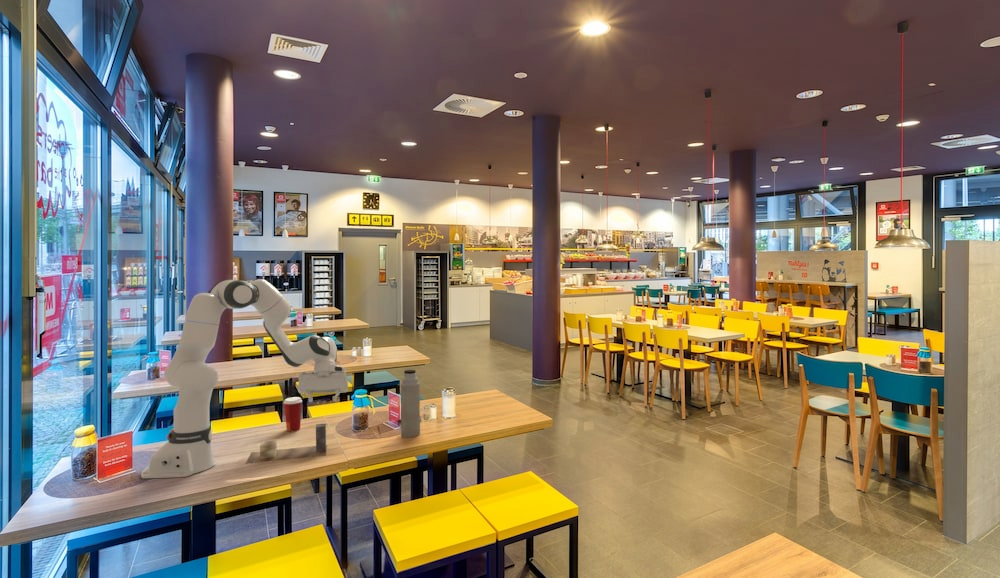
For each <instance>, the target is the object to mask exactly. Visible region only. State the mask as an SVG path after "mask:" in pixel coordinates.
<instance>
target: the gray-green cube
mask: <svg viewBox="0 0 1000 578" xmlns="http://www.w3.org/2000/svg"><path fill="white" fill-rule="evenodd" d="M277 450H278V449H277V440H276V439H273V440H271V439H270V440H263V441H262V442H261V443H260V445H259V451H260V459H263V458H273V457H275V455H276V453H277Z"/></svg>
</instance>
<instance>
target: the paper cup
mask: <svg viewBox="0 0 1000 578" xmlns="http://www.w3.org/2000/svg"><path fill="white" fill-rule="evenodd" d="M302 402H303V400H302V398H301V397H299V396H293V397H291V396H290V397H287V398H285V399H284V401H283V404H284V415H285V425H286V426H285V427H286V431H287V432H289V431H294V432H298V431H300V430H301V419H302ZM299 429H300V430H299ZM297 430H298V431H297Z"/></svg>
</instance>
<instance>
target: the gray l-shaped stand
mask: <svg viewBox="0 0 1000 578" xmlns="http://www.w3.org/2000/svg"><path fill="white" fill-rule="evenodd" d="M327 450H328V444H327V423H319V424H318V423H317V424H315V445H314V446H313V445H312V446H304V447H293V448H291V447H290V448H283V449H282V448H281V449H277V453H276V455H275V457H273V458H263V459H260V450H259V451H251V452H250V455H248V458H247V460H246V461H245V463H244V464H255V463H265V462H273V461H285V460H295V459H304V458H313V457H314V458H315V457H323V456H324V457H325V456H327Z"/></svg>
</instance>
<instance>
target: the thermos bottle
mask: <svg viewBox="0 0 1000 578" xmlns="http://www.w3.org/2000/svg"><path fill="white" fill-rule="evenodd" d="M416 372H417V371H416V370H415V369H406V370H404V371H403V373H404V375H403V377H402V381H401V383H400V405H401V419H400V420H401V421H400V422H401V424H400V425H401V426H400V428H401V430H400V431H401V434H400V435H401V436H402V437H404V438H415V437H418V436H420V435H421V419H420V416H421V413H420V408H421V406H420V405H421V402H420V397H421V396H420V394H421V393H420V392H421V391H420V390H421V389H420V387H421V385H420V382H419V377H417V374H416ZM417 435H418V436H417ZM414 436H415V437H414Z"/></svg>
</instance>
